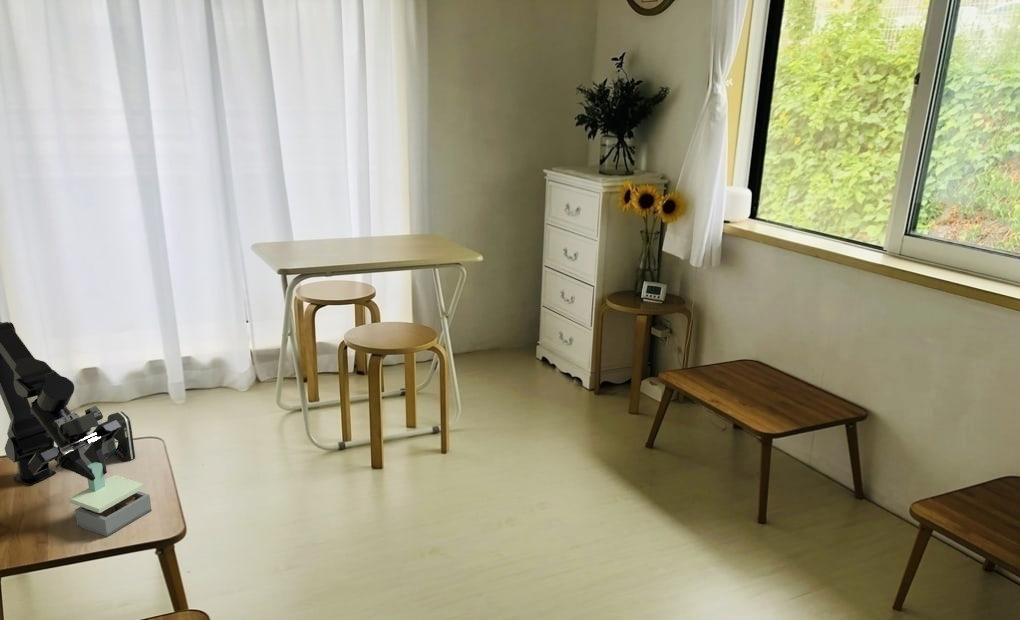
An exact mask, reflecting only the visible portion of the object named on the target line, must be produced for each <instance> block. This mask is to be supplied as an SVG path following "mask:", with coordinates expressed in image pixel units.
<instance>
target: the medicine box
mask: <svg viewBox="0 0 1020 620" xmlns="http://www.w3.org/2000/svg"><path fill="white" fill-rule="evenodd" d="M106 421H107V419H106V420H104V419H101V420H99V421H97V422H98V424H101V423H104V422H106ZM96 428H97V427H92V428H91V430H90V432H88V433H87V435H88V434H91V433H93V431H94V430H95V429H96ZM82 442H84V441H82ZM82 442H81V443H82ZM79 444H80V443H79ZM116 448H117V443H116V439H115V438H114V437H113V438H112V439H110V440H108V441H106V442H104V443H102V454H103V458H104V459H105V460H106V459H108V458H109V457H111V456H112V455H113V454H115V451H116ZM78 450H79V453H80V457H81V459H82V460H83V461H84V462H85V464H86V465H87V466H88V465H90V464H92V463H91V462H90V461H89V460H88V459H87V457H86V456H85V455H84V453H85V451H86V449H85V448H84V447H81V448H79V449H78ZM110 455H111V456H110ZM107 457H108V458H107Z"/></svg>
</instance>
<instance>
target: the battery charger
mask: <svg viewBox="0 0 1020 620" xmlns="http://www.w3.org/2000/svg"><path fill="white" fill-rule="evenodd" d="M111 419H114V420H117V421H118V422H119V423H120V425H121V426H122V427H121V429H120V430H119V431H118V432H117V433H116V435H115V436H114V438H115V441H117V445H116V451H115V453H114V455H115V456H116V457H117V458H118V459H119V460H120V461H121V462H126V461H132V460H134V459H135V458H136V453H135V444H134V437H133V436H134V435H133V431H132V430H133V429H132V423H131V420H130V417H129V416H128V415H127V414H125V412H123V411H117V412H115V413H111V414H109V415H108V416H107V419H106V421H108V420H111Z"/></svg>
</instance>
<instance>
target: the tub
mask: <svg viewBox="0 0 1020 620" xmlns="http://www.w3.org/2000/svg"><path fill="white" fill-rule="evenodd" d="M129 497H136V500H135V501H133V502H132V503H130V504H128V505H126V506H125V507H123V508H121V509H119V510H118V511H116V510H115V505H113V506H112V508H113V512H114V513H112V514H110V515H109V516H107V517H103V516H101V515H98V514H95V513H92V512H90V511H92V510H89V509H86V508H83V507H81V506H78V507H77V508H75V509H74V512H75V519H76V523H77V524H76V525H77V527H79V528H81V529H85V530H87V531H90V532H93V533H95V534H98V535H101V536H103V537H106V536H107V537H106V538H108V537H110V536H111V535H113V534H115V533H116V532H119V531H120V530H122V529H123V528H125V527H127V526H128V525H130V524H132V523H134V522H136V521H137V520H138V519H140V518H142V517H144V516H145V515H148V514H149V513H150V512H152V510H153V509H152V504H151V497H150V494H149V493H145V492H143V491H138V492H137V493H135V494H133V495H131V496H129ZM109 535H110V536H109Z"/></svg>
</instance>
